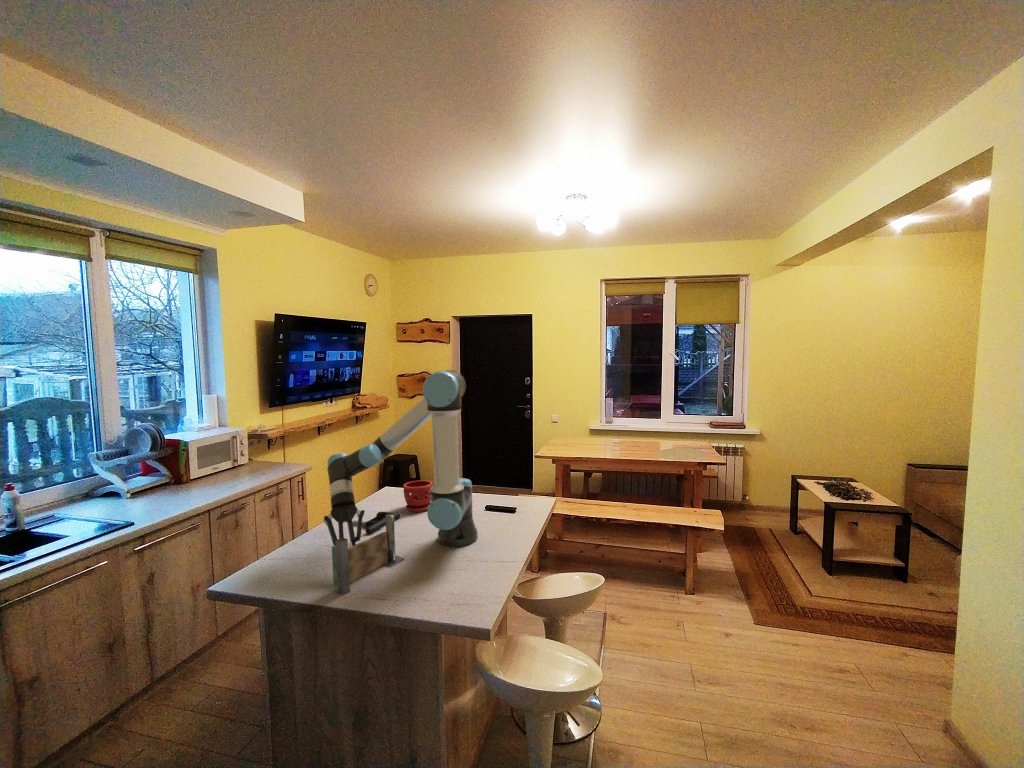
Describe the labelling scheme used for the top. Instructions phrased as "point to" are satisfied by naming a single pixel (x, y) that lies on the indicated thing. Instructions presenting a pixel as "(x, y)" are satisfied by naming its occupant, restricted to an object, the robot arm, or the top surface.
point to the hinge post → (391, 542)
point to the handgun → (377, 522)
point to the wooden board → (363, 557)
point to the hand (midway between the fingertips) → (349, 564)
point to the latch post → (342, 566)
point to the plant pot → (417, 495)
